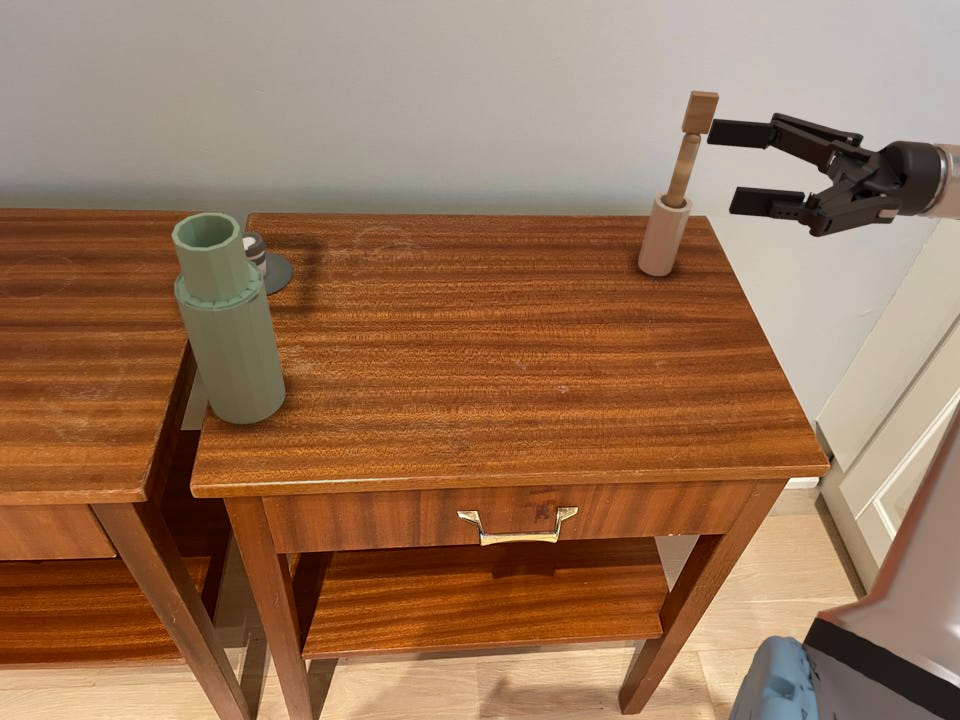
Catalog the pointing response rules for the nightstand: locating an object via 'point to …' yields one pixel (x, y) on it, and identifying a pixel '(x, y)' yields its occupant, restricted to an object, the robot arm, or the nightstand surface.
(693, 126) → the wooden stick
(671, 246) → the holder
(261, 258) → the coffee cup
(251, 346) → the bottle
